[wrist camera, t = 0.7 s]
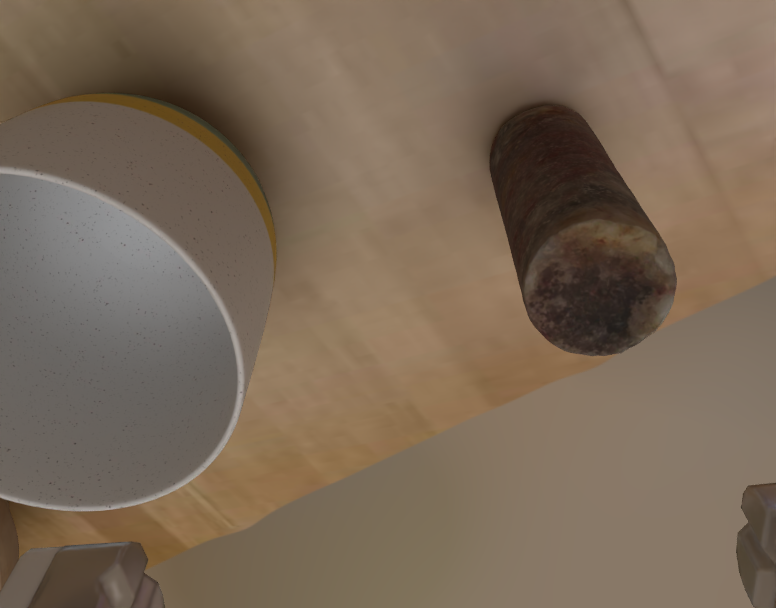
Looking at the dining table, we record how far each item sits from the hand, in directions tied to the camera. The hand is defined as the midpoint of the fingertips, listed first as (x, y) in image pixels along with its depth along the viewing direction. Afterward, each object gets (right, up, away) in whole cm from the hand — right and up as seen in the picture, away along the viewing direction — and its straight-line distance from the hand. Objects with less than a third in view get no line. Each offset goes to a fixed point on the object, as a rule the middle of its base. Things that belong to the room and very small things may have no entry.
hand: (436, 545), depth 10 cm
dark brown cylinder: (+10, +14, +42) cm, 45 cm away
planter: (-17, +11, +44) cm, 48 cm away
